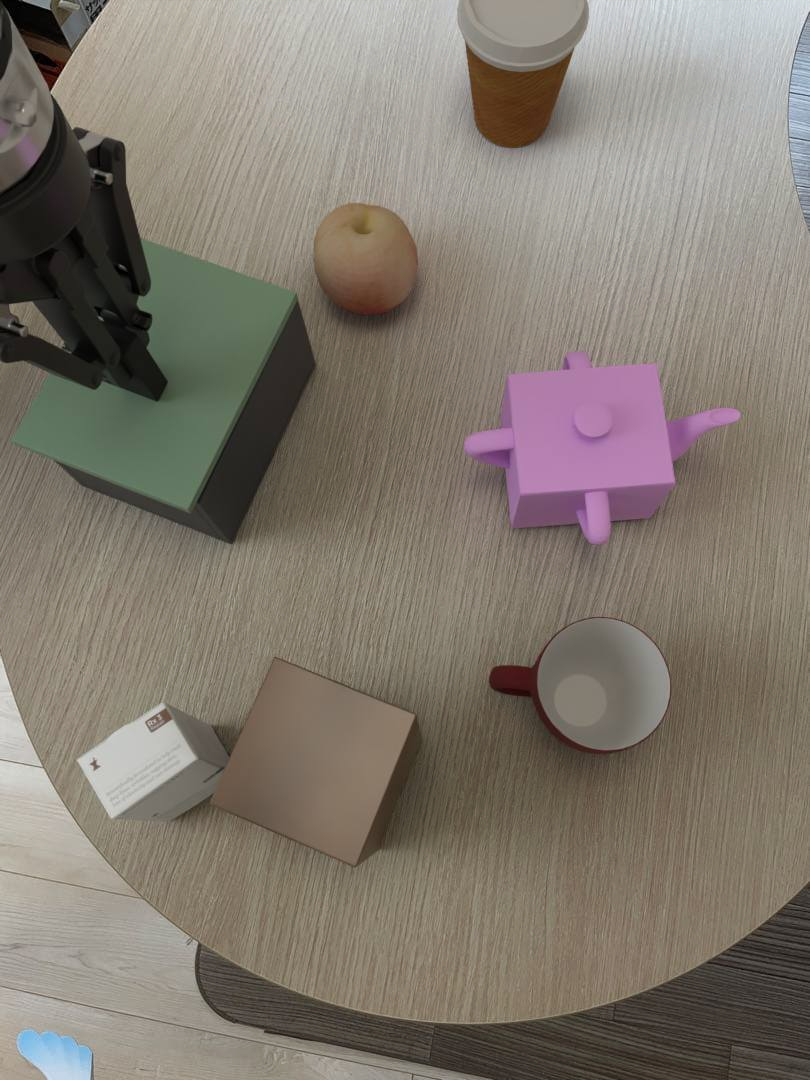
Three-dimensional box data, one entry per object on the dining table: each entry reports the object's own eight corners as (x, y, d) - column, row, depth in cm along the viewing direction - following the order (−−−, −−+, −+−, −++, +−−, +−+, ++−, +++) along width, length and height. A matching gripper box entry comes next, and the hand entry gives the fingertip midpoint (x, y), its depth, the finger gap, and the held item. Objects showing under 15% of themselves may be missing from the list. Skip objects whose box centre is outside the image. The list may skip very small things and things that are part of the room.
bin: (232, 544, 70) (199, 504, 60) (81, 485, 71) (26, 436, 62) (316, 364, 73) (298, 299, 64) (171, 312, 75) (132, 241, 65)
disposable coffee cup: (439, 86, 80) (440, -35, 68) (546, 56, 80) (564, -70, 69) (475, 178, 77) (482, 68, 66) (585, 146, 78) (611, 31, 66)
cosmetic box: (168, 824, 64) (109, 829, 53) (135, 769, 65) (69, 761, 54) (244, 771, 65) (202, 764, 53) (210, 717, 66) (162, 698, 54)
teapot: (690, 382, 72) (730, 316, 62) (719, 559, 68) (766, 518, 58) (454, 400, 72) (456, 338, 62) (470, 578, 68) (475, 540, 58)
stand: (270, 804, 64) (208, 804, 47) (317, 694, 66) (274, 655, 49) (378, 850, 63) (356, 868, 46) (422, 738, 65) (417, 714, 48)
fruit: (423, 245, 76) (422, 182, 68) (414, 336, 74) (411, 281, 66) (325, 239, 76) (312, 175, 68) (312, 328, 74) (298, 273, 66)
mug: (485, 758, 65) (493, 750, 55) (485, 641, 67) (493, 614, 57) (640, 761, 64) (676, 754, 55) (635, 644, 67) (668, 616, 57)
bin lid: (191, 514, 59) (187, 509, 58) (16, 445, 61) (10, 440, 60) (298, 299, 64) (296, 292, 63) (132, 240, 65) (128, 233, 65)
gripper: (-30, 299, 36) (151, 494, 59) (123, 36, 39) (239, 318, 62) (-195, 238, 37) (46, 453, 60) (-33, -14, 40) (137, 282, 63)
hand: (144, 384), depth 61 cm, fingers closed
